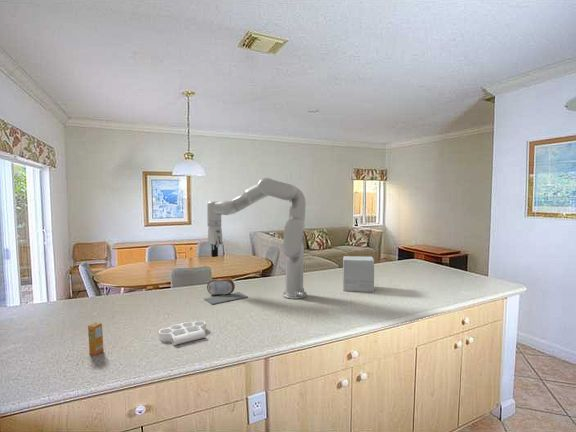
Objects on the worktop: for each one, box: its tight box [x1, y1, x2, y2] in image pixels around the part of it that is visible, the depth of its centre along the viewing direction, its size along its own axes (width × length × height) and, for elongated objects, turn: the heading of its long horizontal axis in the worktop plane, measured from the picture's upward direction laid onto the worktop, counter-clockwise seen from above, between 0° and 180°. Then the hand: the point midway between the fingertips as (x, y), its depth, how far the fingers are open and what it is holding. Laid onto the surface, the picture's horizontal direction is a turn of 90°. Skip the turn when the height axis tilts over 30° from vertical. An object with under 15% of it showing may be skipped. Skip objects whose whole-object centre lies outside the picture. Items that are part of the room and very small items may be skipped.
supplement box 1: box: [87, 322, 104, 356], centre depth 111 cm, size 3×3×10 cm
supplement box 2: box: [342, 255, 375, 293], centre depth 189 cm, size 17×13×18 cm
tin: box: [206, 278, 236, 296], centre depth 177 cm, size 15×3×8 cm, turn 84°
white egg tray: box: [158, 320, 207, 346], centre depth 125 cm, size 3×18×15 cm
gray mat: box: [204, 291, 249, 306], centre depth 171 cm, size 10×20×1 cm, turn 126°
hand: (214, 256), depth 182 cm, fingers closed
